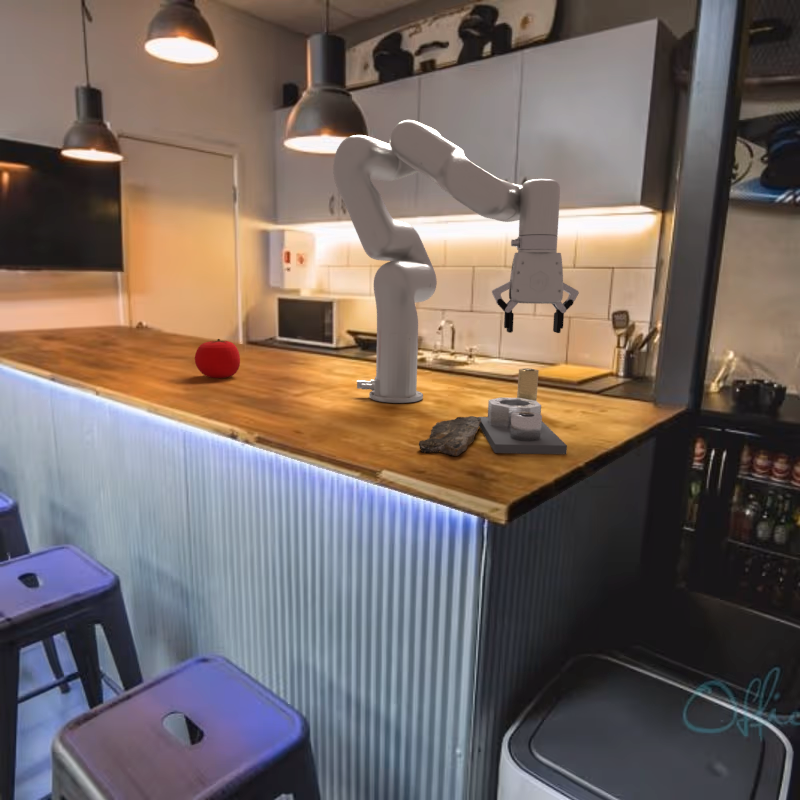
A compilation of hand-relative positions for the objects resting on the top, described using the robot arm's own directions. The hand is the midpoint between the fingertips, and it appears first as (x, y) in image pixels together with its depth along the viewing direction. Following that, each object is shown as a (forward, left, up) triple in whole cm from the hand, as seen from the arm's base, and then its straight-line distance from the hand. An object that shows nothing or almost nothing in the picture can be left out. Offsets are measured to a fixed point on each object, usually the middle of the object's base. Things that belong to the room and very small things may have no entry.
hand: (533, 332), depth 126 cm
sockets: (-5, -16, -16) cm, 23 cm away
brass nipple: (0, 0, -18) cm, 18 cm away
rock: (-17, -19, -18) cm, 31 cm away
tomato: (-75, +41, -18) cm, 88 cm away
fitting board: (-5, -17, -18) cm, 25 cm away
